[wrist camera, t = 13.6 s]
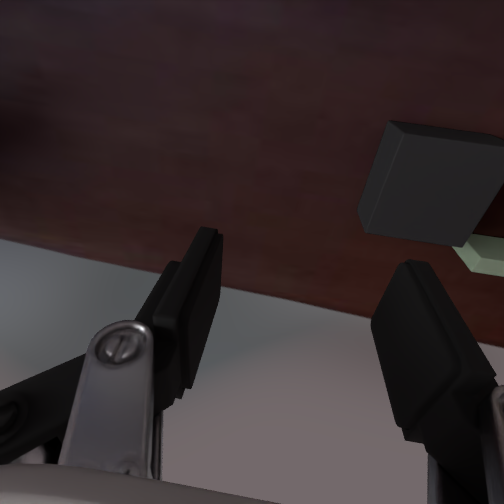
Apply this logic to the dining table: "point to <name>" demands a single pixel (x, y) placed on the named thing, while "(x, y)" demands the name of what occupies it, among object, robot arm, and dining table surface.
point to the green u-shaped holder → (483, 254)
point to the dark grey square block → (431, 183)
